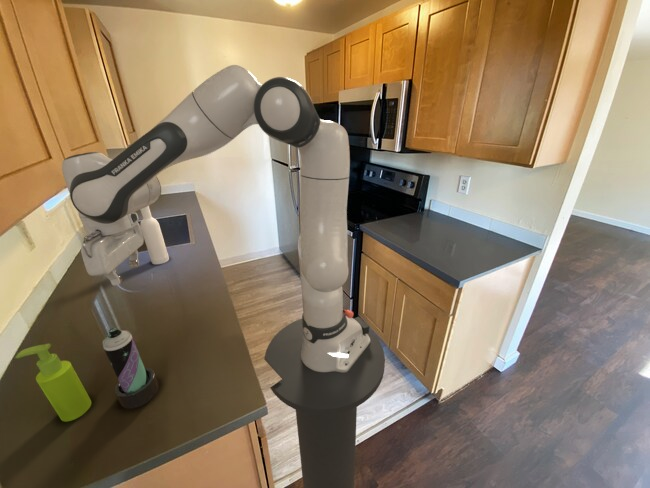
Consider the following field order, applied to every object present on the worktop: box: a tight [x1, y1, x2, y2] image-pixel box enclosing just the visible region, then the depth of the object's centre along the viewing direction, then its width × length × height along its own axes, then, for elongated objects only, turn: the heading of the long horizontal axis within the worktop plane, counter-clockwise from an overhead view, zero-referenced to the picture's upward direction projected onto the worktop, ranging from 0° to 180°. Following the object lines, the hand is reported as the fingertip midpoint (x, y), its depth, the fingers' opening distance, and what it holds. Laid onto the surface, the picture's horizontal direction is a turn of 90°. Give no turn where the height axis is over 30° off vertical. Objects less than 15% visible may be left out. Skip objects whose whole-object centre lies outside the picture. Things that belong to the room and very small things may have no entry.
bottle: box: [139, 205, 170, 265], centre depth 134 cm, size 8×8×30 cm
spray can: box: [102, 327, 149, 394], centre depth 66 cm, size 6×6×20 cm
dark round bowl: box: [114, 367, 160, 410], centre depth 70 cm, size 8×8×4 cm
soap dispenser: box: [14, 343, 92, 423], centre depth 63 cm, size 6×7×20 cm
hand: (127, 274), depth 71 cm, fingers open, 8 cm apart
